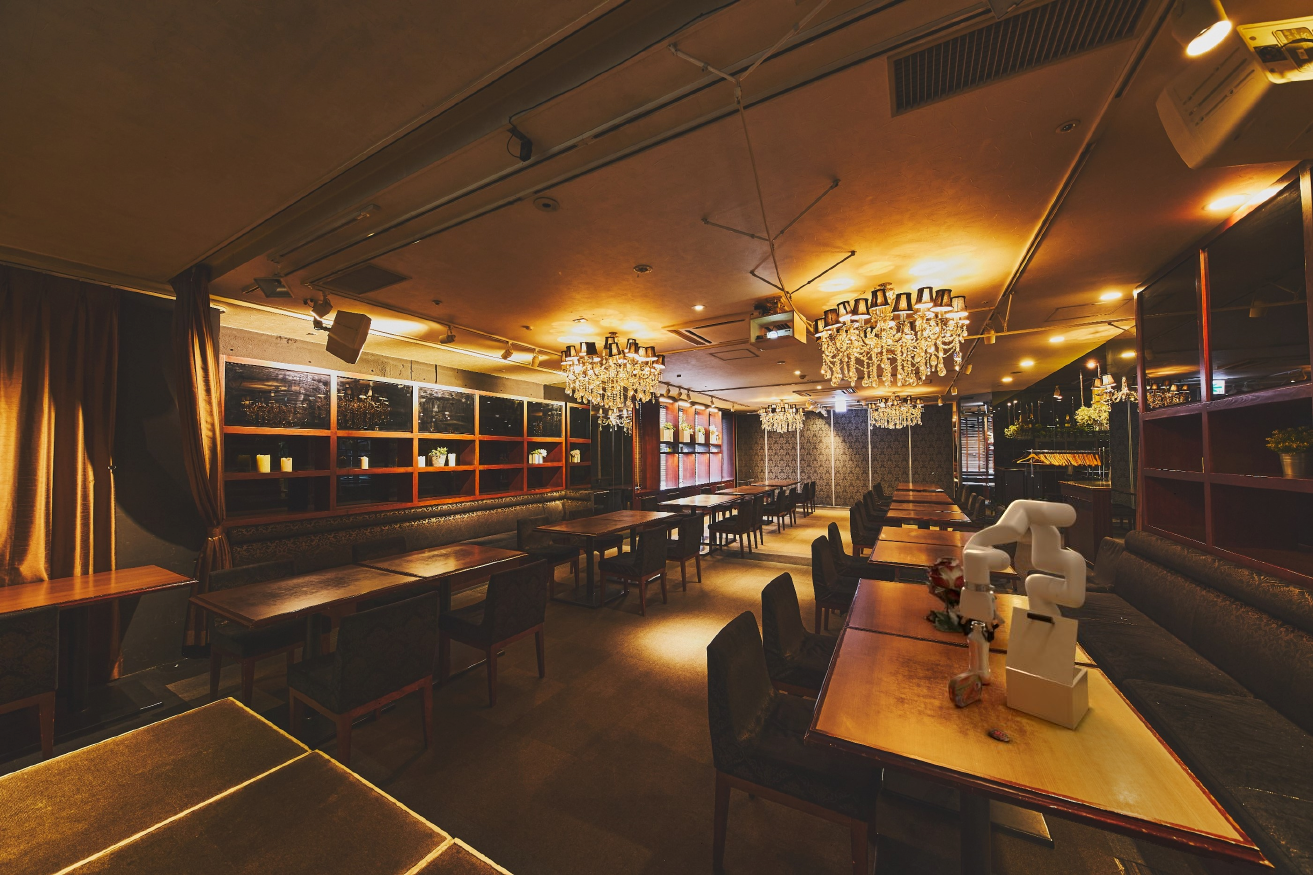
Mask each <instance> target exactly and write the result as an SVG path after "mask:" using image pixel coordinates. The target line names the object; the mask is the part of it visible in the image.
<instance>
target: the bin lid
mask: <svg viewBox="0 0 1313 875" xmlns="http://www.w3.org/2000/svg"><path fill="white" fill-rule="evenodd" d="M1010 619H1011V620H1010V628H1009V635H1008V640H1007V641H1008V643H1007V650H1006V657H1005V667H1010V668H1013V669H1017V670H1020V671H1023V672H1027V673H1030V674H1033V675H1036V676H1040V677H1043V678H1046V679H1050V680H1053V681H1056V682H1060V683H1063V684H1066V685H1070V686H1073V676H1074V666H1076V665H1075V664H1076V663H1075V662H1076V652H1077V651H1076V650H1077V641H1078V631H1079V620H1078V619H1074V618H1069V617H1064V616H1061V617H1060V616H1055V615H1051V614H1046V613H1041V612H1037V611H1032V610H1029V609H1027V608H1023V607H1017V606H1012V614H1011V618H1010Z"/></svg>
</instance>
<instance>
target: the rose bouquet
mask: <svg viewBox="0 0 1313 875" xmlns="http://www.w3.org/2000/svg"><path fill="white" fill-rule="evenodd" d="M931 564H932V565H933V566H929V567H928V568H927V569H926V572H929V573H925V575H926V576H927V577H928V579H927V580H923V582H925V584H926V586H927V589H928V592H927V593H928V594H929V595H931V596H932V597H935V598H937V599H938V601H940V602H942V603H943V604H944V606H943V611H942V612H941V611H937V610H935V609H933V610H932V609H929V614H928V615H925V619H926V620H927V619H928V620H930V621H932V622H934V623H931V625H932V626H933V627H934V628H935V629H936V630H937V631H941V632H947V633H948V632H949V633H964V632H963V629H962V623H961V621H960V620H959V619H958V618H957V616H956V615H955V614H954V613H953V612H952V610H953V609H954V608H956V607H957V606H959V605H960V596H961V591H962V588H963V587H964V570H963V566H961V565H960V560H959V559H957V557H955V556H949V555H948V556H947V555H945V556H943V557H938V558H937V560H936V562H934V561H933V562H932V563H931ZM991 592H993V594H994V598H995V601H996V600H998V597H997V596H996V595H995V593H994V590H991ZM959 613H960V610H959ZM972 622H981V623H983V624H984V625H985V630H984V632H987V631H988V627H987V625H986V623H985V622H983V621H979V620H975V619H971V618H969V620H968V623H969V628H970V631H971V630H972V628H971V626H972Z"/></svg>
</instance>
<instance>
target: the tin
mask: <svg viewBox="0 0 1313 875" xmlns="http://www.w3.org/2000/svg"><path fill="white" fill-rule="evenodd" d="M947 686H948V687H947V689H948V690H947V692H948V699H949V701H950V702H951V703H953V704H954V705H957V706H959V707H961V708H964V707H967V706H968V705H970V704H972V703H975V702H977V701H979V699H980V698H981V696H982V695H983V694H982V693H983V687H984V686H983V684H982V680H981V677H980V676H979V675H978V674H977V673H973V672H969V671H968V670H967V671H964V672H962V673H960V674H957V675H955V676H953V677H951V679H950V680H949V682H948V685H947Z"/></svg>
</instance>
